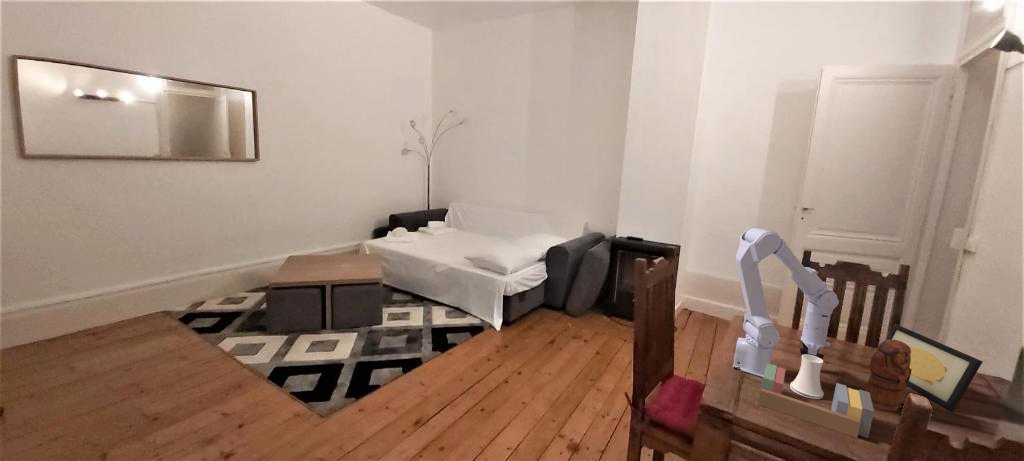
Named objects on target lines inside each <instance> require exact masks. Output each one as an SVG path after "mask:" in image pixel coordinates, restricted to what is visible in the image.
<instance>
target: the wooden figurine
mask: <svg viewBox="0 0 1024 461" xmlns="http://www.w3.org/2000/svg"><path fill="white" fill-rule="evenodd" d="M910 353H911V349H910V347H909V346H908V345H907V344H905V343H903V342H901V341H898V340H886V339H885V340H884V341H882V342H881V343H880V344H879V345H878V346H877V351H875V352H874V353H873V355H872V356H871V358H870V364H869V370H870V376H869V379H868V380H867V381H868V382H867V386H866V390H865V391H866V392H870V397H871V401H872V405H873V409H877V410H881V411H884V412H885V411H886V412H897V411H898V410H899V409H901V408H902V407H903V406H902V405H903V404H905V399H906V397H907V385H906V383H907V382H909V379H910V375H911V369H910V368H909V366H910V362H911V355H910Z"/></svg>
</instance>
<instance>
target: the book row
mask: <svg viewBox="0 0 1024 461" xmlns="http://www.w3.org/2000/svg"><path fill="white" fill-rule="evenodd" d="M785 375H786V368H784V367H780V366H777V365H775V364H772V363H770V364H768V363H767V364H766V367H765V371H764V375H763V377H762V380H761V386H760V391H759V396H758V405H760V406H762V407H765V408H767V409H771V410H774V411H776V412H780V413H783V414H785V415H788V416H791V417H793V418H797V419H801V420H803V421H806V422H809V423H812V424H814V425H815V424H816V425H818V426H819V427H820V426H821V427H823V428H827V429H830V430H833V431H836V432H839V433H841V434H844V435H848V436H851V437H853V438H855V439H858V436H859V437H863V438H866V439H869V436H870V431H871V428H872V422H873V418H874V413H875V411H874V409H875V408H874V407H873V405H872V401H871V397H870V392H866V390H863V389H853V388H850V387H847V385H845V384H841V383H838V382H836V384H835V389H834V393H833V398H832V403H831V409H828V408H825V407H822V406H819V405H816V404H813V403H809V402H807V401H805V400H801V399H797V398H794V397H791V396H788V395H784V394H782V393H783V387H784V383H785Z"/></svg>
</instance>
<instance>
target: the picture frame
mask: <svg viewBox="0 0 1024 461" xmlns="http://www.w3.org/2000/svg"><path fill="white" fill-rule="evenodd" d="M885 340H898V341H901V342H903V343H905V344H907V345H908V346H909V347H910V349H911V353H910V355H911V362H910V366H909V368H910V369H911V375H910V379H909V382H907V383H906V387H908V388H910V389H912V390H914V391H915V392H918V394H922V395H923V396H924V397H926V398H928V399H930V400H931V401H933V402H934V403H937V405H940V406H942V407H943V408H945V409H947V410H949V411H951V412H954V411H955V409H956V408H957V407H958V405H959V403H960V401H961V399H962V398H963V396H964V395H965V393H966V392H967V389H968V387H969V386H970V384H971V383H972V381H973V379H974V377H975V376H976V374H977V373H978V371H979V369H980V368H981V366H982V364H983V362H984V361H983V360H980V359H978V358H976V357H974V356H971V355H968V354H967V353H964V352H962V351H959V349H958V350H957V349H955V348H954V347H950V346H949V345H946V344H944V343H941V342H939V341H937V340H934V339H933V338H929V337H927V336H924V335H923V334H920V333H918V332H915V331H913V330H911V329H908V328H906V327H904V326H901V325H900V324H897V323H894V324H893V325H892V327H891V329H890V331H889V333H888V335H887V336H886V338H885Z"/></svg>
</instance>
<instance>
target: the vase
mask: <svg viewBox="0 0 1024 461" xmlns="http://www.w3.org/2000/svg"><path fill="white" fill-rule="evenodd" d="M823 363H824V360H823V359H821V358H819V357H816V356H813V355H808V354H803V355H801V363H800V368H799V371H798V374H797V375H796V377H795V378H794V380H793V381H791V382H790V385H789V387H790V389H791V390H792V391H793V392H794V393H795V394H797V395H800V396H801V397H805V398H808V399H811V400H820V399H823V397H824V391H823V389H822V385H821V369H822V366H823Z"/></svg>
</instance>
